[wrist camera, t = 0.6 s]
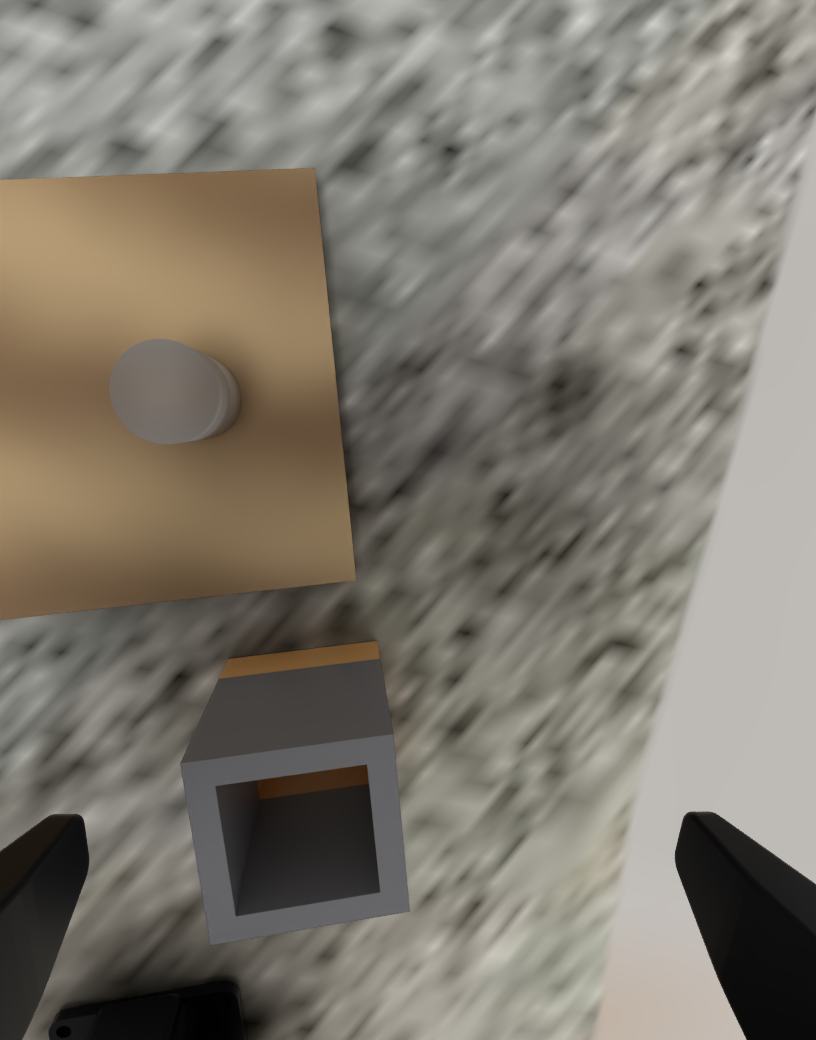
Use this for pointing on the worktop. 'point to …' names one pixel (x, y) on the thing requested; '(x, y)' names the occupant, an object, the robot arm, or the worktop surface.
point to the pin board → (195, 299)
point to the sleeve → (296, 794)
